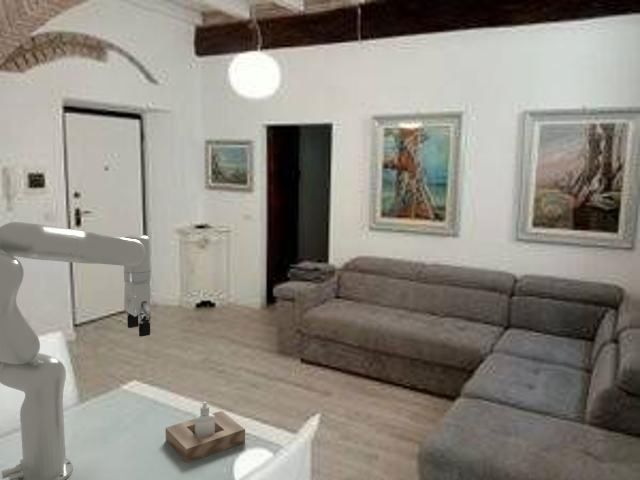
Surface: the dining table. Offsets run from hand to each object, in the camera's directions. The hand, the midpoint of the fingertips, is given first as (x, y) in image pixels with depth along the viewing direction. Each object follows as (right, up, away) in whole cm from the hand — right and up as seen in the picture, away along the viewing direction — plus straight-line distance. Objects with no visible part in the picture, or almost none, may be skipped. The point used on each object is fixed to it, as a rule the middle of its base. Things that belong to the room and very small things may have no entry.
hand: (138, 331), depth 160 cm
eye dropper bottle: (+22, -31, -8) cm, 39 cm away
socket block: (+22, -30, -8) cm, 38 cm away
